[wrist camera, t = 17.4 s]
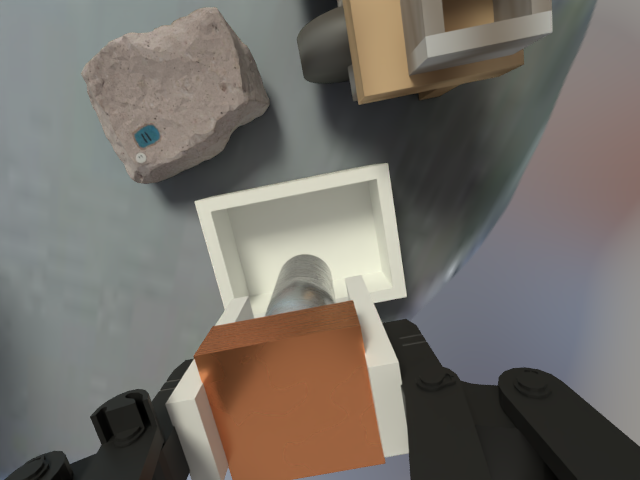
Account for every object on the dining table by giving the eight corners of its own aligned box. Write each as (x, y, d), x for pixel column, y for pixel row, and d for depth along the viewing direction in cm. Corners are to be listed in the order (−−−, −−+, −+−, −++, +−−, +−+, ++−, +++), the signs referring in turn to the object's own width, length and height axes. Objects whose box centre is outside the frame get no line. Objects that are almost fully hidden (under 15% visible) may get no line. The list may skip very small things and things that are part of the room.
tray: (243, 305, 32) (230, 330, 27) (214, 195, 29) (194, 201, 24) (392, 276, 31) (406, 296, 26) (375, 163, 29) (387, 163, 24)
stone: (154, 189, 29) (115, 194, 23) (95, 87, 27) (38, 64, 21) (285, 127, 28) (279, 116, 23) (235, 17, 26) (215, -26, 21)
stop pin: (277, 319, 20) (235, 489, 9) (260, 252, 19) (193, 356, 8) (347, 306, 19) (385, 463, 9) (334, 237, 19) (360, 325, 8)
